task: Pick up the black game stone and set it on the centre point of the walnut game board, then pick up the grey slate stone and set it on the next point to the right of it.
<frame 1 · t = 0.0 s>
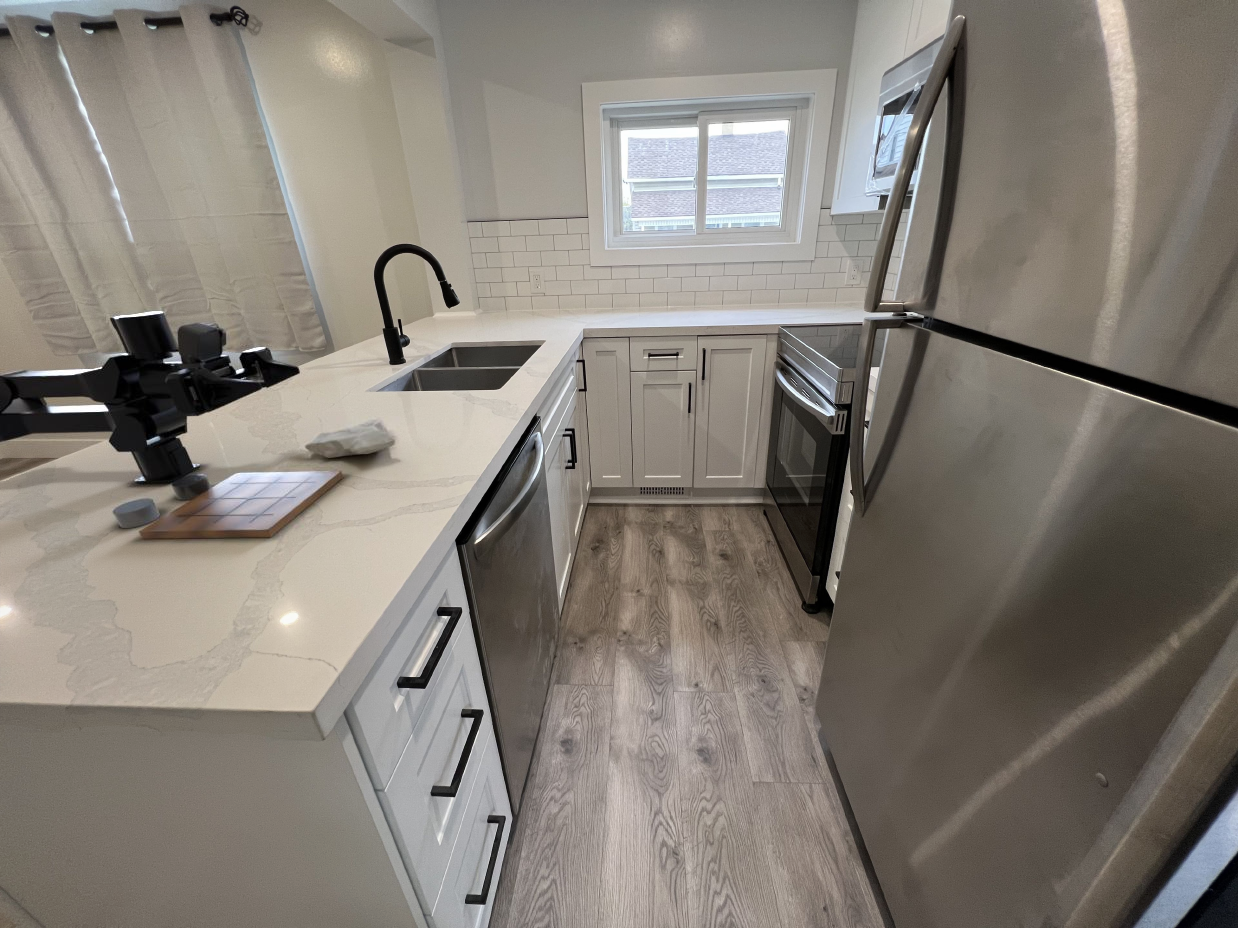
hand: (280, 377, 78), 17 cm above the counter, tool horizontal, fingers open, 9 cm apart
grey stone: (140, 520, 72), on the counter
rock: (354, 452, 93), on the counter
black stone: (195, 493, 79), on the counter
board: (253, 504, 75), on the counter
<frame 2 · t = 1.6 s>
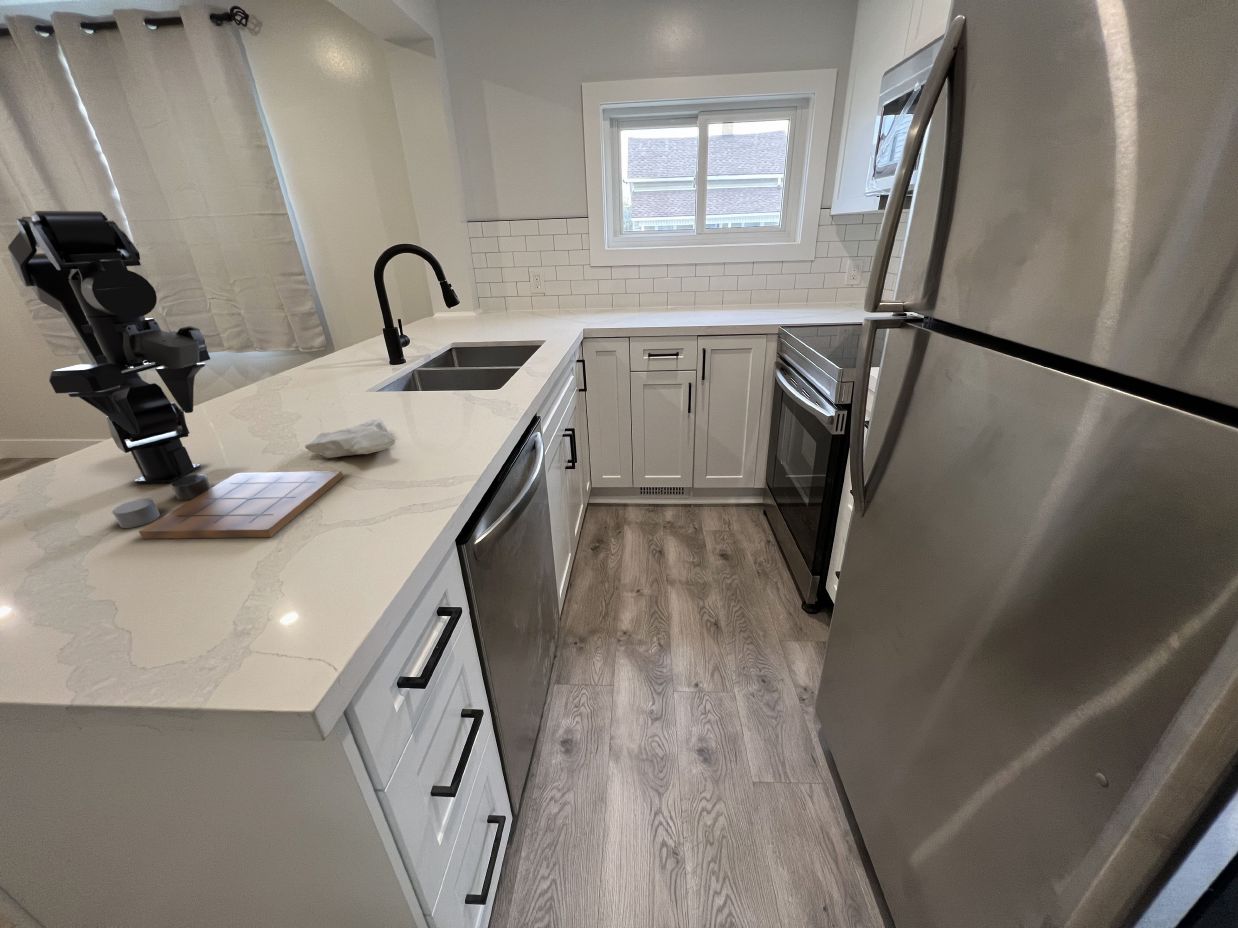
hand: (163, 422, 74), 12 cm above the counter, tool pointing down, fingers open, 9 cm apart
nothing on the counter moved.
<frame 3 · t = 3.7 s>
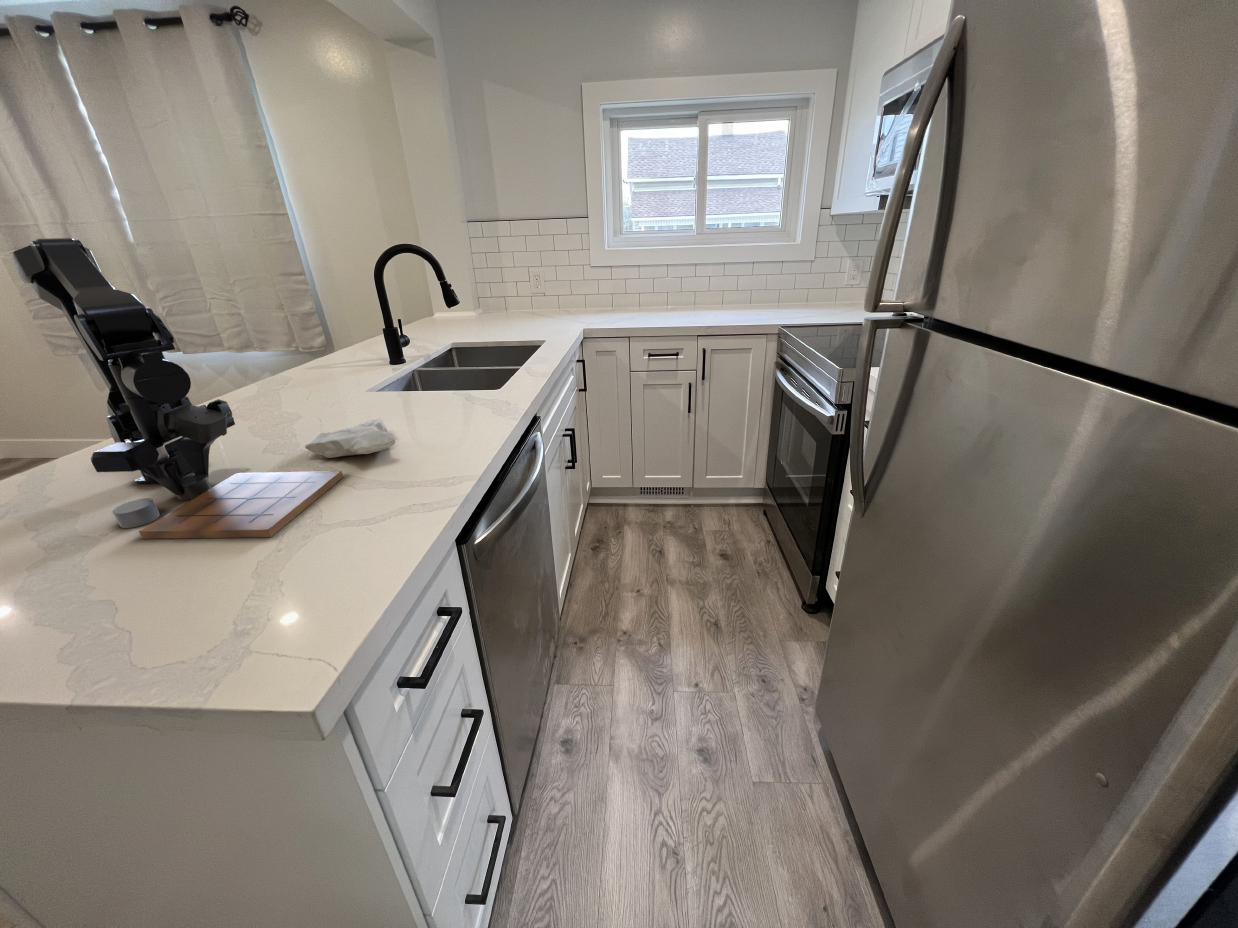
hand: (192, 487, 78), 1 cm above the counter, tool pointing down, fingers closed on black stone, 4 cm apart
black stone: (195, 493, 79), on the counter, touching gripper
everything else where it was.
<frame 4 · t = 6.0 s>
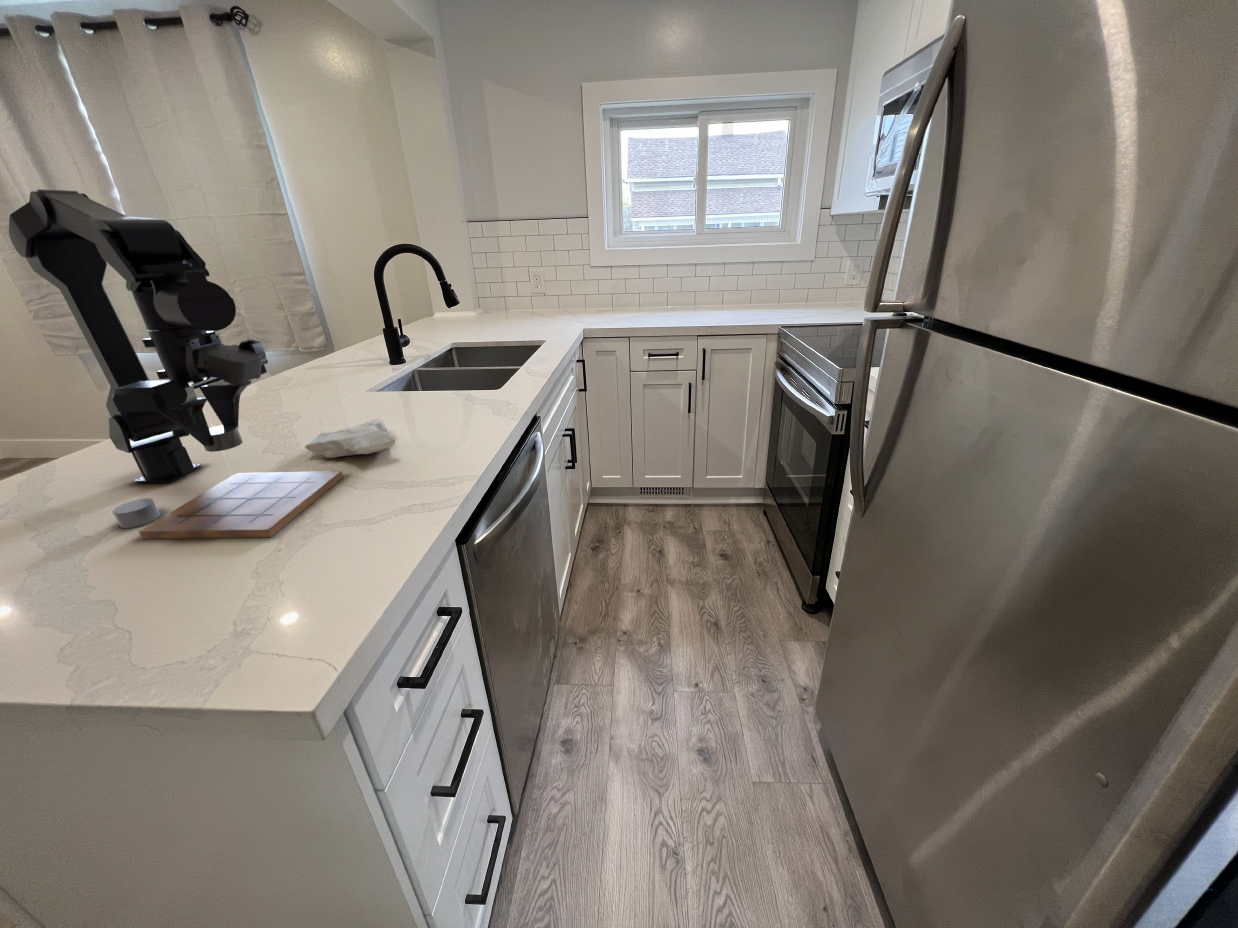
hand: (221, 439, 71), 11 cm above the counter, tool pointing down, fingers closed on black stone, 4 cm apart
black stone: (224, 445, 71), point 10 cm above the counter, touching gripper
everything else where it was.
when the fingers open (2 cm above the counter, at t = 8.3 s): black stone stays where it is, resting on board.
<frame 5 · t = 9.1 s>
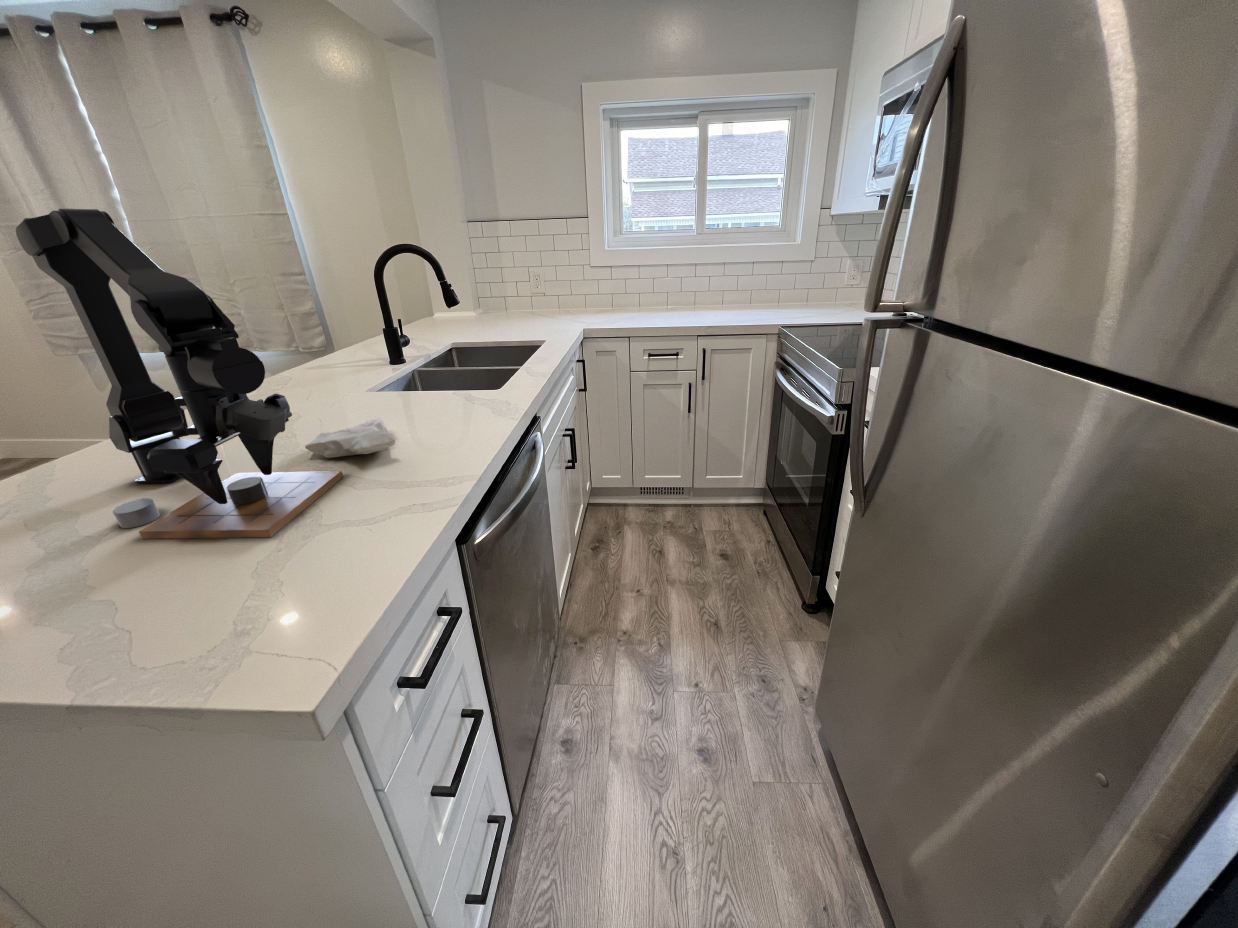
hand: (246, 488, 73), 3 cm above the counter, tool pointing down, fingers open, 9 cm apart
black stone: (250, 497, 74), point 1 cm above the counter, touching board
everything else where it was.
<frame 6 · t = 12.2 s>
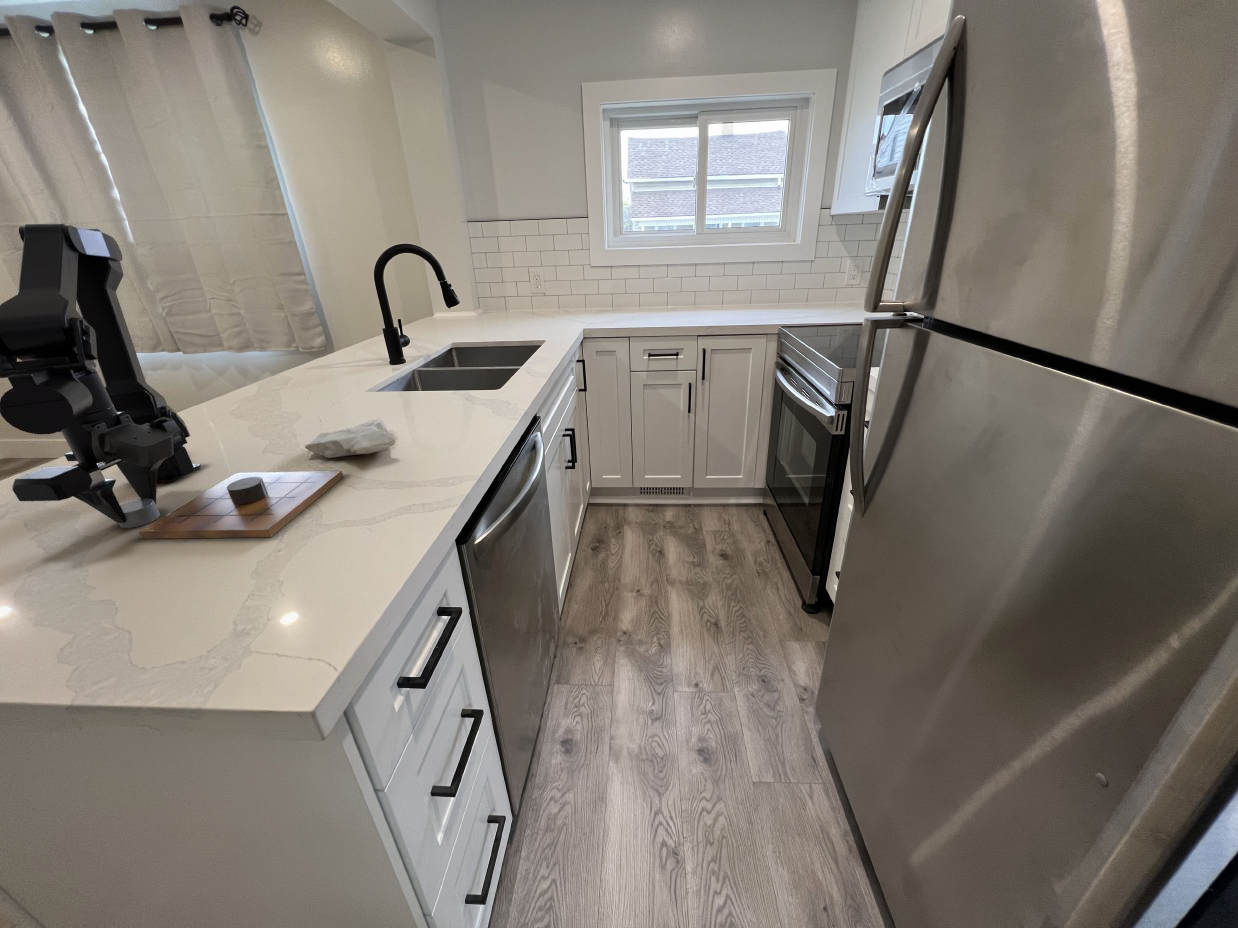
hand: (137, 514, 71), 1 cm above the counter, tool pointing down, fingers closed on grey stone, 4 cm apart
grey stone: (140, 520, 72), on the counter, touching gripper
everything else where it was.
when the fingers open (2 cm above the counter, at t = 17.5 s): grey stone stays where it is, resting on board.
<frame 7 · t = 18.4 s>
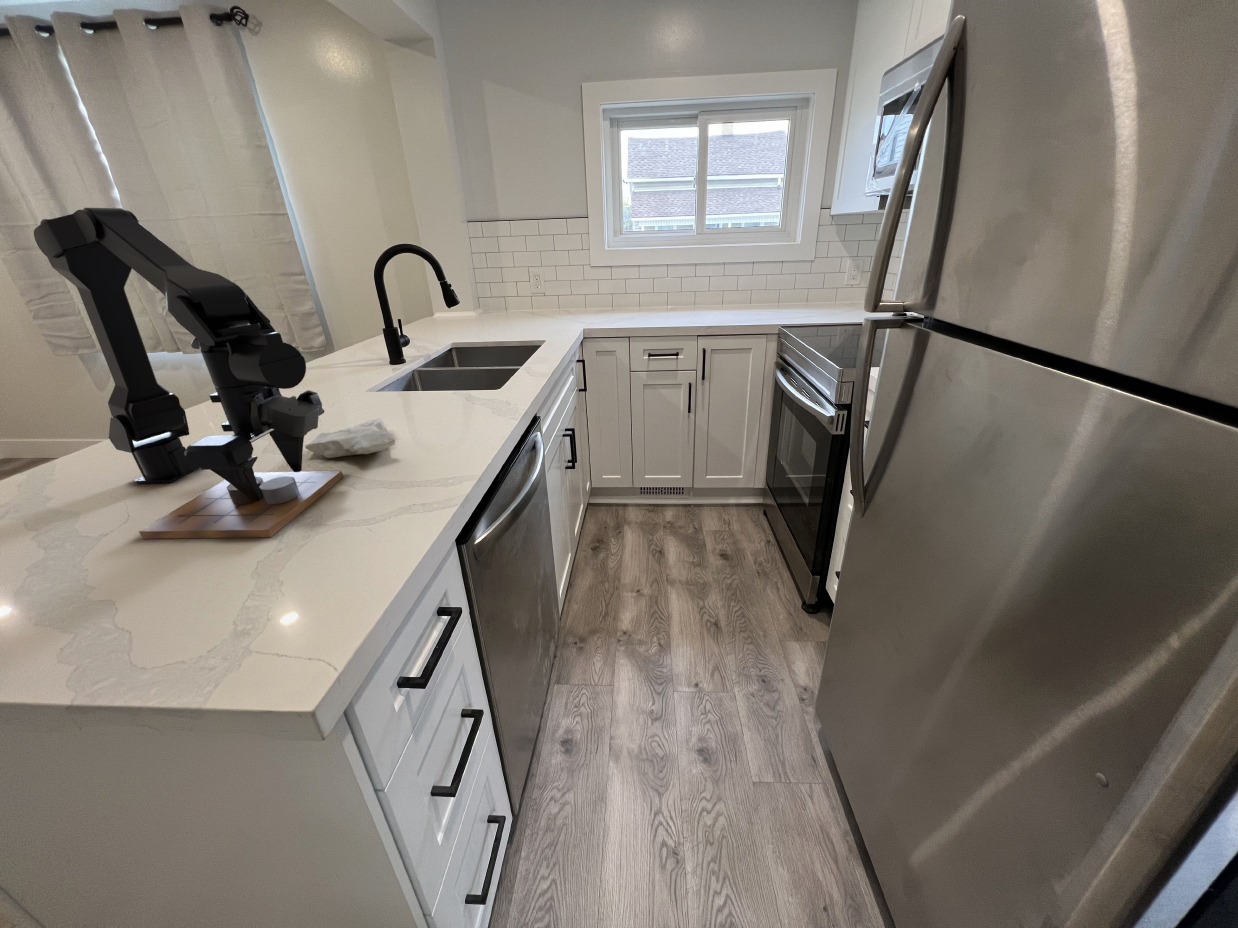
hand: (278, 485, 73), 3 cm above the counter, tool pointing down, fingers open, 9 cm apart
grey stone: (282, 497, 74), point 1 cm above the counter, touching board
everything else where it was.
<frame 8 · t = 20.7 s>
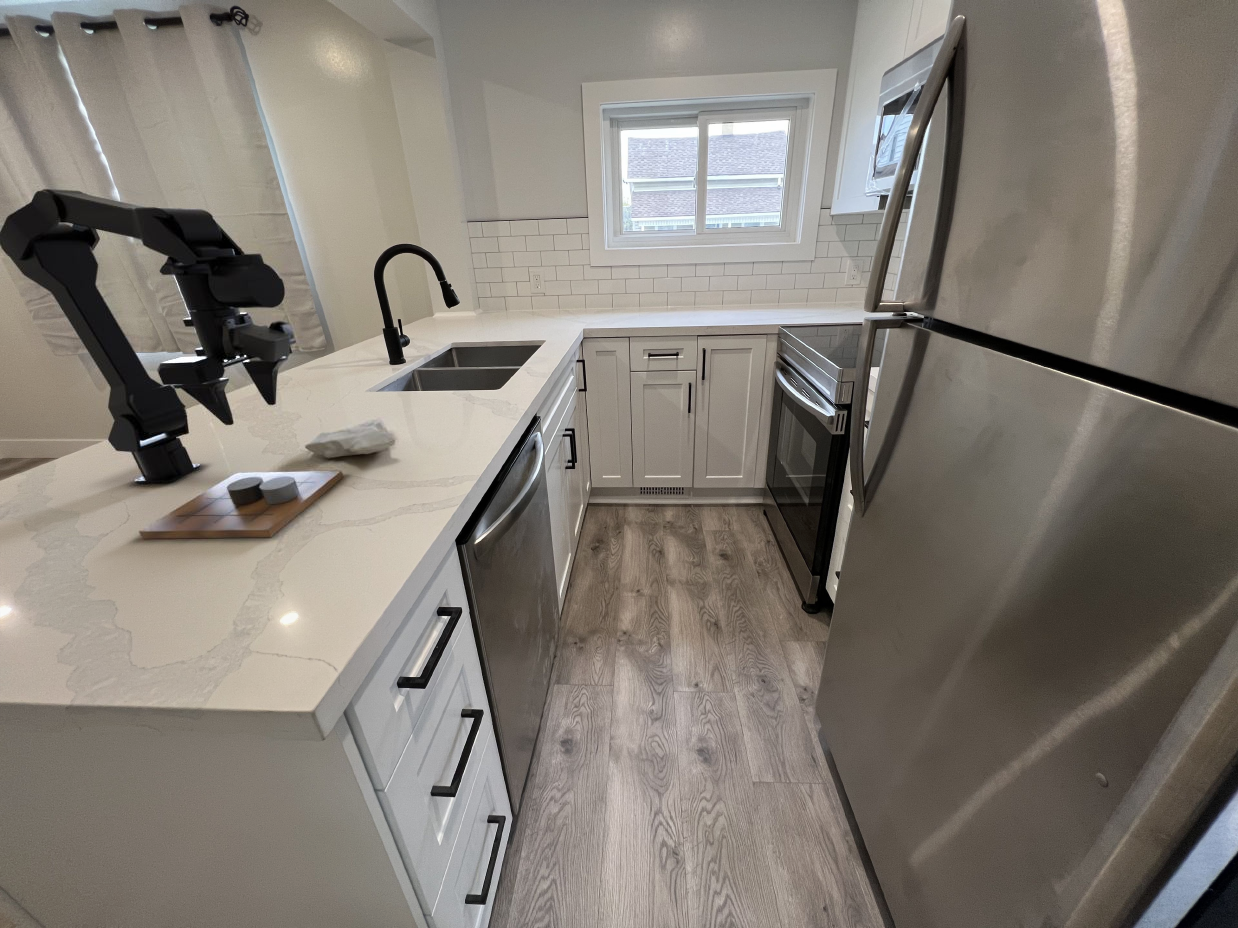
hand: (252, 414, 76), 12 cm above the counter, tool pointing down, fingers open, 9 cm apart
nothing on the counter moved.
at the end: black stone 0.0 cm off-centre on the board, point 1.3 cm above the board's base; grey stone 0.0 cm from the target spot on the board, point 1.2 cm above the board's base; black stone tilted 0° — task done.
